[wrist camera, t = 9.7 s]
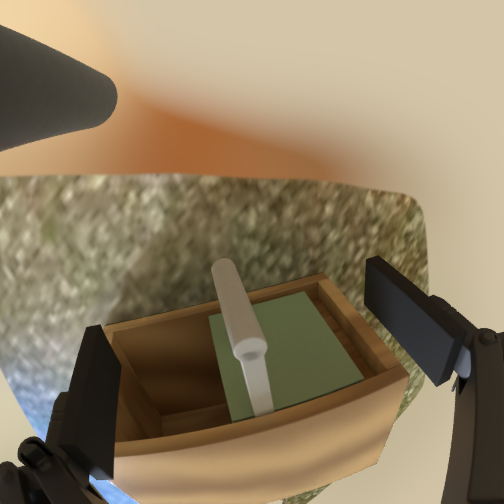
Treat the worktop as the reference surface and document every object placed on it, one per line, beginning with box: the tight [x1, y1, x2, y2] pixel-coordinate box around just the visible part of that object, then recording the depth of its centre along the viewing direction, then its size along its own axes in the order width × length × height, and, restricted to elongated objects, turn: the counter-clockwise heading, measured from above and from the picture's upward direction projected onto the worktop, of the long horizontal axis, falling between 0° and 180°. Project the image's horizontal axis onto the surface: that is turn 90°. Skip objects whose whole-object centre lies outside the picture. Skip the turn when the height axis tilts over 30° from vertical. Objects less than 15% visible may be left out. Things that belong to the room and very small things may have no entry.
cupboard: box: [103, 273, 410, 504], centre depth 21 cm, size 12×18×12 cm
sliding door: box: [208, 258, 364, 423], centre depth 18 cm, size 6×7×10 cm
